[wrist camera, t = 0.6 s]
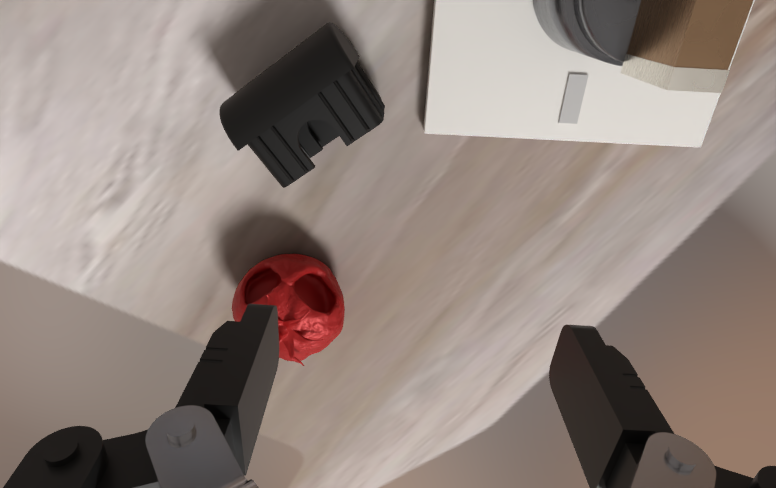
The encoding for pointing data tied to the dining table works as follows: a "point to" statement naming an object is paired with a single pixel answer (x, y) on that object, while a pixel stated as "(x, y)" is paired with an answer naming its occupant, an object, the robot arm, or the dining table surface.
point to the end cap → (303, 105)
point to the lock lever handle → (667, 38)
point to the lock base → (545, 81)
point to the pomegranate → (295, 302)
